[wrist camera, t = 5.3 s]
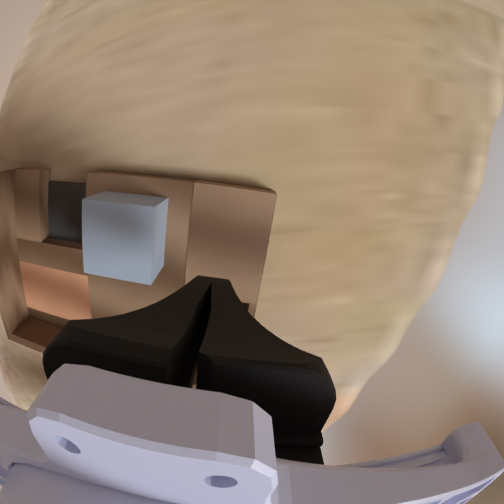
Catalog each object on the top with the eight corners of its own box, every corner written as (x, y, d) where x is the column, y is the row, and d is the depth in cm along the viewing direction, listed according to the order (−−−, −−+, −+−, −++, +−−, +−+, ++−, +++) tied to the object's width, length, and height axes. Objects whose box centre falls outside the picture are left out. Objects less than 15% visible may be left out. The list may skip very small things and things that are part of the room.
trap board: (243, 359, 23) (243, 398, 19) (32, 314, 22) (8, 338, 17) (274, 191, 19) (283, 202, 14) (19, 168, 17) (-18, 175, 13)
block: (163, 265, 19) (150, 285, 16) (103, 255, 18) (84, 272, 15) (168, 197, 17) (154, 207, 14) (104, 190, 17) (82, 199, 14)
